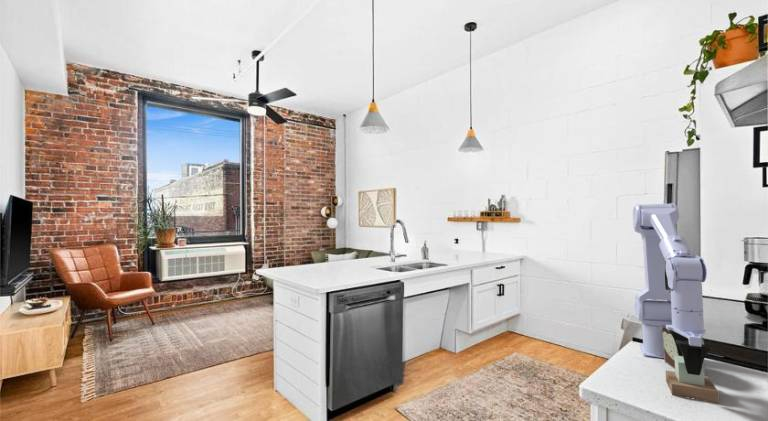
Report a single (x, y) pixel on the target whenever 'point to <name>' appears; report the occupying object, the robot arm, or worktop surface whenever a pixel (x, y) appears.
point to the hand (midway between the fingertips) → (689, 367)
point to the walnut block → (692, 388)
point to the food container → (670, 347)
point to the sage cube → (684, 376)
